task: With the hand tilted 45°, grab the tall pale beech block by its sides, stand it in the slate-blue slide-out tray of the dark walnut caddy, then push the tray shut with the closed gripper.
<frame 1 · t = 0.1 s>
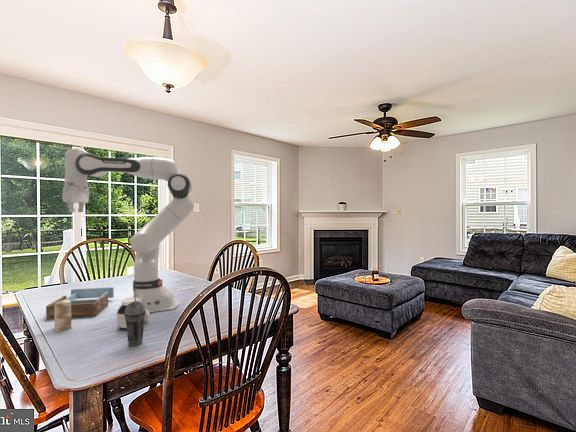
hand: (76, 212, 152), 48 cm above the table, tool pointing down, fingers open, 8 cm apart
spread jar: (134, 326, 136), on the table
caddy: (79, 311, 154), on the table
beverage cup: (135, 344, 118), on the table
beech block: (63, 328, 133), on the table
tray: (87, 297, 163), point 4 cm above the table, slide at 8.0 cm
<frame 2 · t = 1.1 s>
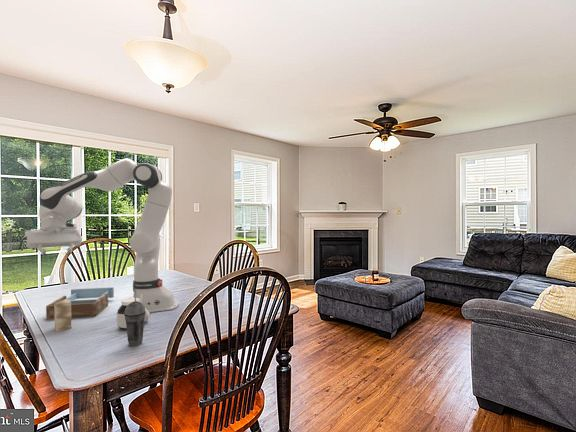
hand: (57, 252, 141), 30 cm above the table, tool tilted 45°, fingers open, 8 cm apart
nothing on the table moved.
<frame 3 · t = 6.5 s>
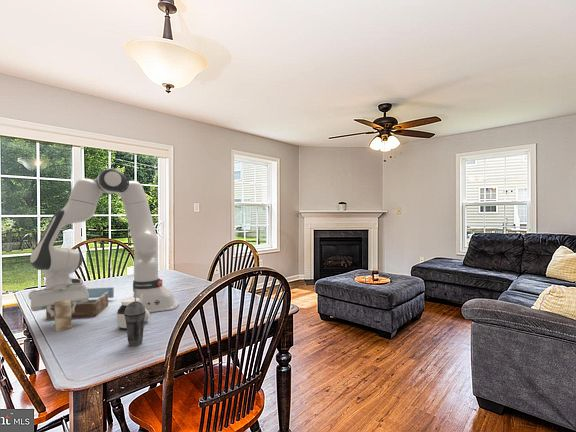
hand: (63, 314, 132), 6 cm above the table, tool tilted 45°, fingers closed on beech block, 5 cm apart
beech block: (63, 328, 133), on the table, touching gripper
everything else where it was.
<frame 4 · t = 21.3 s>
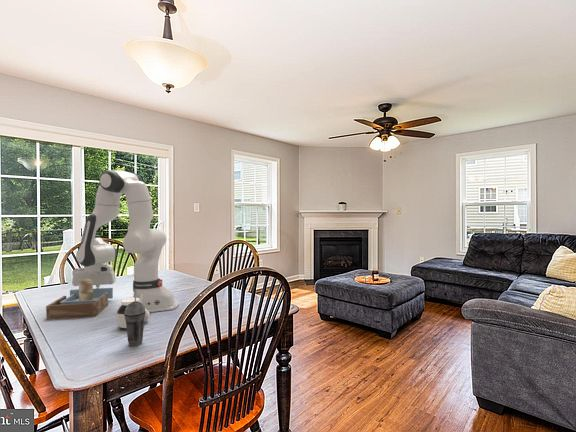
hand: (94, 293, 172), 4 cm above the table, tool pointing down, fingers closed, pressing on tray
beech block: (86, 302, 161), point 2 cm above the table, touching tray
tray: (86, 297, 162), point 4 cm above the table, slide at 6.5 cm, touching beech block, gripper
everything else where it was.
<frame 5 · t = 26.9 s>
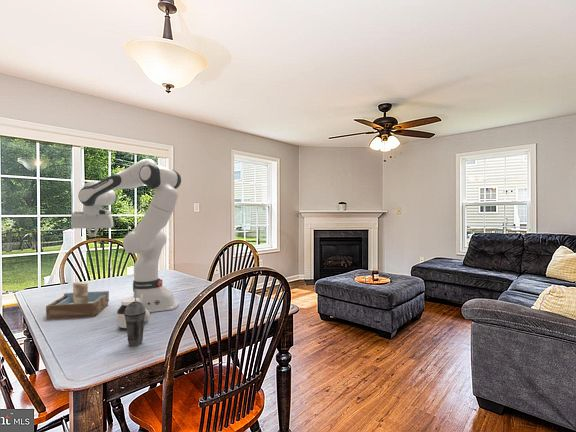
hand: (92, 236, 176), 34 cm above the table, tool pointing down, fingers closed
beech block: (80, 305, 155), point 2 cm above the table, touching tray
tray: (81, 301, 156), point 4 cm above the table, slide at 0.0 cm, touching beech block
everything else where it was.
at the end: tray slide at 0.0 cm; beech block inside the target area on the caddy (0.5 cm from its centre), point 2.4 cm above the caddy's base; beech block tilted 0° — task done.
